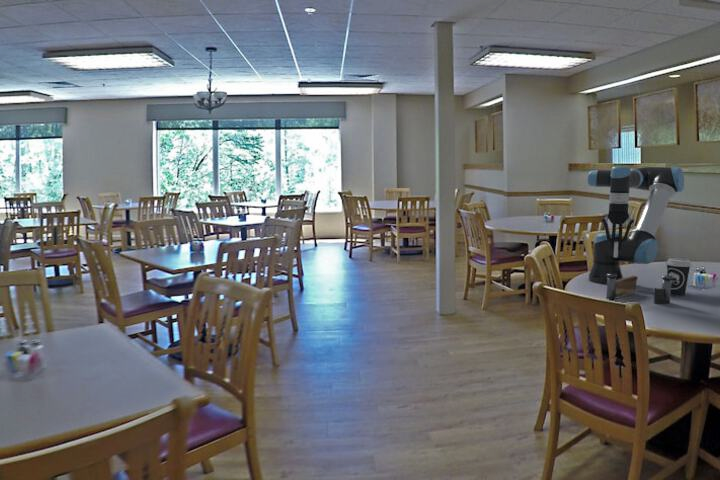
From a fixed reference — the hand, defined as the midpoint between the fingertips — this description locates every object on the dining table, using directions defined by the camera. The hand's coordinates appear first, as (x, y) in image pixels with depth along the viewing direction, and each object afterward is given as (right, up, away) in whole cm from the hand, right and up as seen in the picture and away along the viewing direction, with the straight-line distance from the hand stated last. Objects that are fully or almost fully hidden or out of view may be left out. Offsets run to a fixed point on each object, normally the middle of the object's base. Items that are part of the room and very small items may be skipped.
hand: (615, 257), depth 241 cm
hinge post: (-6, -18, -9) cm, 21 cm away
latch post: (+13, -18, -14) cm, 26 cm away
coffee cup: (+26, -16, -1) cm, 31 cm away
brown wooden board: (+2, -16, -3) cm, 17 cm away
